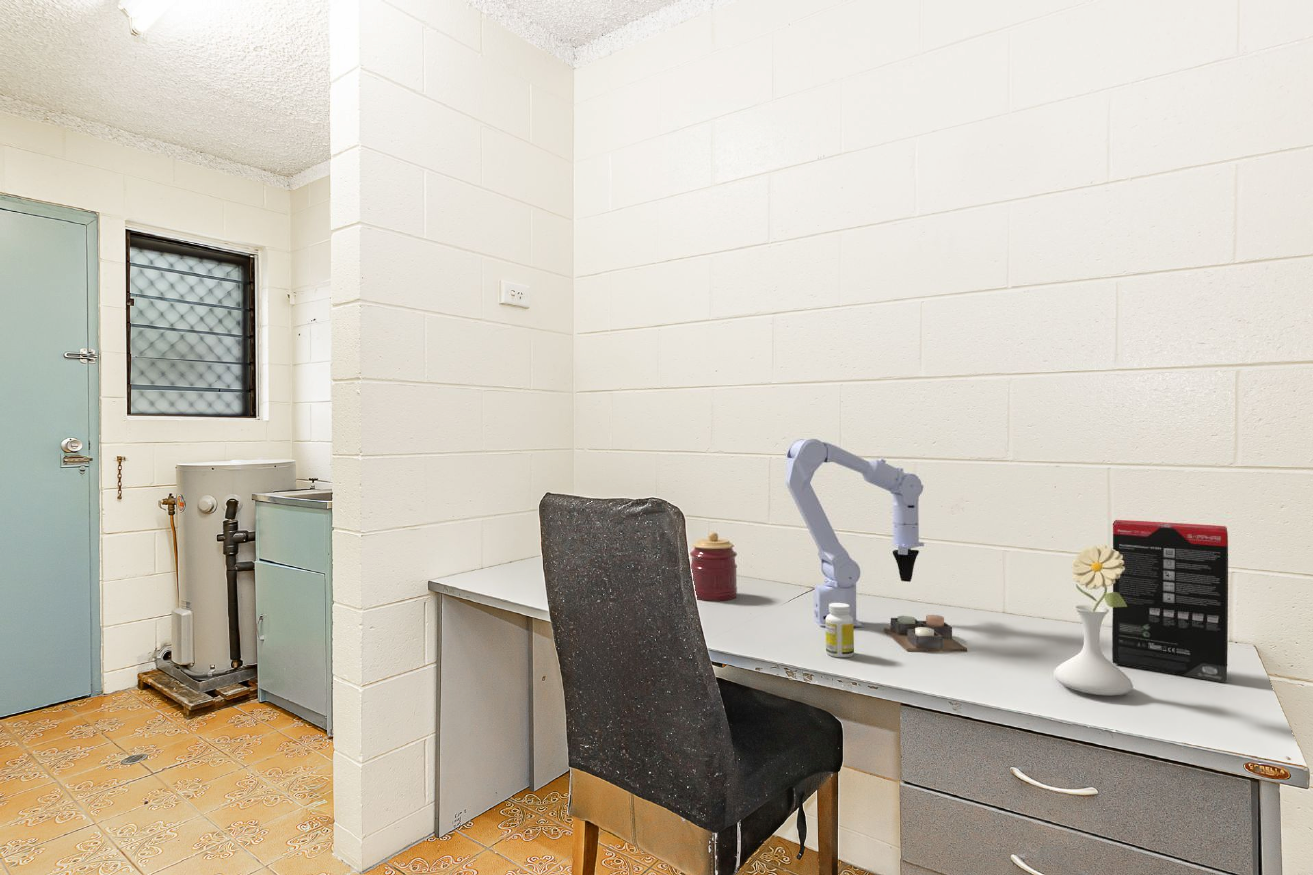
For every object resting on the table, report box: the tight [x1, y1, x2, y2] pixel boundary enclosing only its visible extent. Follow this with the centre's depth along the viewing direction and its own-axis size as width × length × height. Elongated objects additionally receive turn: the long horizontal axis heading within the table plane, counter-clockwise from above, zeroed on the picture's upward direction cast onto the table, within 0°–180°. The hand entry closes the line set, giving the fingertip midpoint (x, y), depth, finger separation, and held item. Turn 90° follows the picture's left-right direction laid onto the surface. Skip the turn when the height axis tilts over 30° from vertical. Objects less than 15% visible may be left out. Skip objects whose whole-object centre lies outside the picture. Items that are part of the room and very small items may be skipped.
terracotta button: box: [925, 614, 945, 627], centre depth 147 cm, size 4×4×3 cm
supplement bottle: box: [825, 603, 855, 659], centre depth 136 cm, size 5×5×10 cm
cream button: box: [915, 627, 934, 636], centre depth 140 cm, size 4×4×3 cm
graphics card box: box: [1111, 519, 1229, 683], centre depth 125 cm, size 17×7×27 cm, turn 53°
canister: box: [689, 531, 738, 602], centre depth 188 cm, size 13×13×18 cm
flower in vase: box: [1053, 544, 1134, 697], centre depth 115 cm, size 13×11×25 cm
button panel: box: [883, 617, 968, 653], centre depth 145 cm, size 12×15×3 cm
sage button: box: [897, 615, 916, 624], centre depth 149 cm, size 4×4×3 cm
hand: (906, 581), depth 161 cm, fingers closed
